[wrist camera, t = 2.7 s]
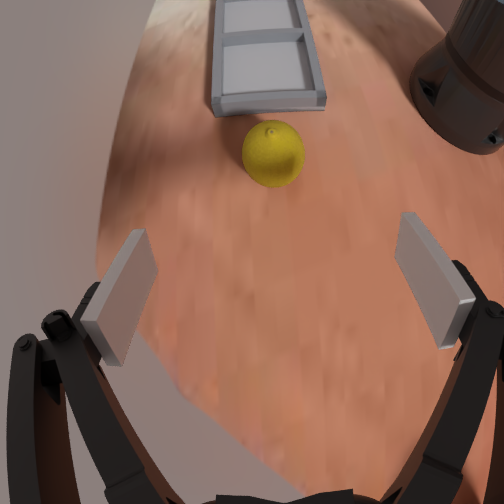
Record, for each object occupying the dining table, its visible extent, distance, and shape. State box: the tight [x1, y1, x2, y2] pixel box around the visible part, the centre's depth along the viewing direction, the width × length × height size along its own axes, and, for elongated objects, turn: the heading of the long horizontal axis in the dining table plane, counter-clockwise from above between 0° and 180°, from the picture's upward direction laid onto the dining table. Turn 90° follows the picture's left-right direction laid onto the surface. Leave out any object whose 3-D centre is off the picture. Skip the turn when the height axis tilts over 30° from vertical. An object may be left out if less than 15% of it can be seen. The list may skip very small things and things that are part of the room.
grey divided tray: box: [211, 0, 327, 117], centre depth 34 cm, size 23×12×2 cm, turn 2°
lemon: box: [242, 120, 305, 188], centre depth 28 cm, size 6×6×8 cm
